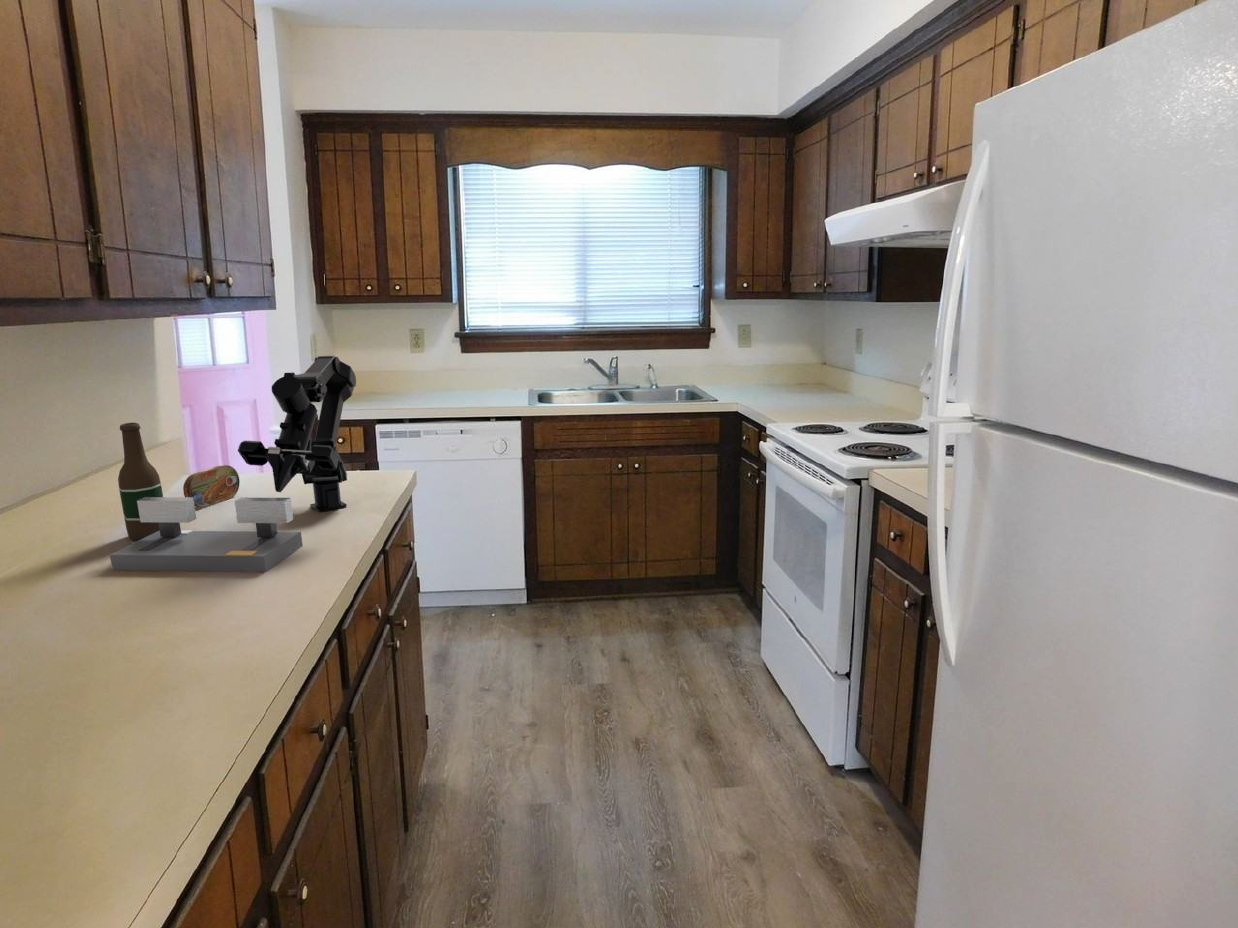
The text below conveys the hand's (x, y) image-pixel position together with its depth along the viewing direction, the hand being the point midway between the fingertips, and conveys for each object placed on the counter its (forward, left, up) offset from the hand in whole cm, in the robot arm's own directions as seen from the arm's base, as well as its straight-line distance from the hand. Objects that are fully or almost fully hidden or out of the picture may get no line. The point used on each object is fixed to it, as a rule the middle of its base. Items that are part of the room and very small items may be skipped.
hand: (277, 491), depth 159 cm
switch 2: (+4, -4, -8) cm, 10 cm away
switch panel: (0, -14, -11) cm, 17 cm away
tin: (-43, -3, -11) cm, 44 cm away
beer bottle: (-25, -20, -11) cm, 34 cm away
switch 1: (-10, -18, -8) cm, 22 cm away
